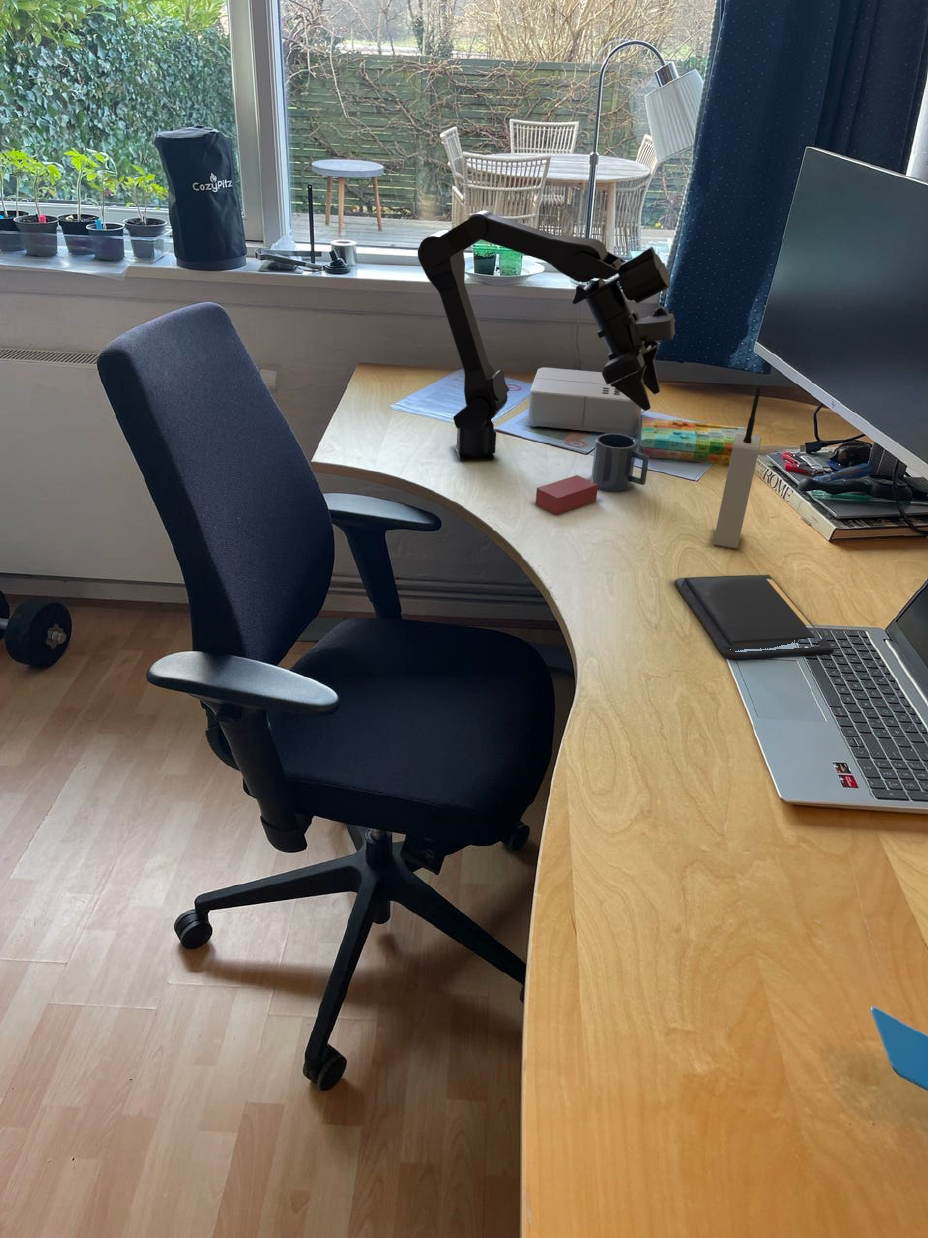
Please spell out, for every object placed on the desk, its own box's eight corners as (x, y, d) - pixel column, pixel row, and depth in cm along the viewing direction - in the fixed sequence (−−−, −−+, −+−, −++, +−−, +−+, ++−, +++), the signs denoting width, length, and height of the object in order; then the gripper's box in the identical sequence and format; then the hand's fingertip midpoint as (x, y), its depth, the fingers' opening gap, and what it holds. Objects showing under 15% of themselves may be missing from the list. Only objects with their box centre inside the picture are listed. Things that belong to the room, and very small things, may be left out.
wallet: (674, 570, 133) (775, 567, 134) (672, 581, 134) (772, 578, 135) (723, 648, 116) (837, 643, 118) (720, 660, 117) (834, 656, 119)
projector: (637, 438, 181) (642, 400, 177) (526, 428, 184) (529, 390, 180) (638, 410, 195) (644, 374, 191) (536, 401, 198) (538, 365, 194)
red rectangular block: (556, 514, 151) (557, 498, 149) (535, 504, 154) (536, 487, 153) (596, 500, 156) (598, 484, 155) (575, 490, 159) (577, 474, 158)
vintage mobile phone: (739, 536, 147) (773, 382, 133) (737, 549, 143) (771, 392, 129) (716, 532, 148) (747, 378, 134) (712, 545, 144) (744, 389, 130)
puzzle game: (642, 413, 180) (747, 423, 178) (639, 436, 183) (742, 446, 180) (642, 434, 170) (752, 445, 168) (638, 458, 173) (747, 469, 170)
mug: (583, 484, 162) (588, 441, 158) (603, 472, 167) (608, 430, 162) (634, 500, 157) (640, 456, 153) (652, 486, 162) (659, 444, 158)
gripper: (648, 305, 139) (689, 398, 144) (667, 281, 154) (704, 365, 159) (583, 338, 145) (625, 426, 150) (608, 311, 160) (645, 392, 165)
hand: (652, 401), depth 155 cm, fingers open, 9 cm apart
